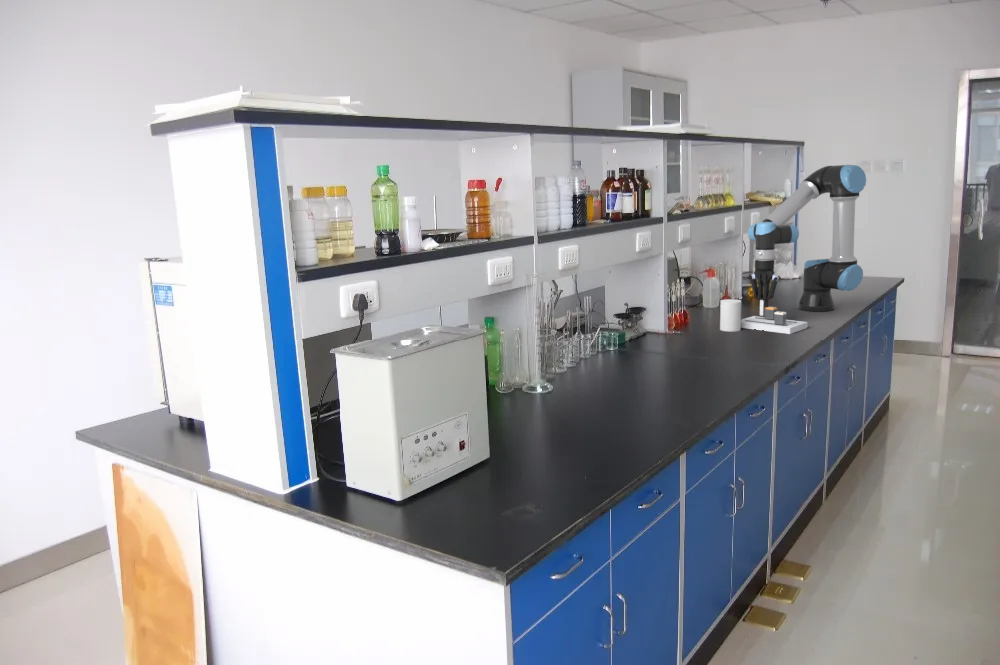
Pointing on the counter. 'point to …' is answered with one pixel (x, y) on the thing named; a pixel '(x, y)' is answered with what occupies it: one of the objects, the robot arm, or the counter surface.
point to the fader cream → (780, 318)
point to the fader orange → (770, 312)
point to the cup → (730, 315)
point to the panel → (772, 325)
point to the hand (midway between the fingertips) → (762, 315)
